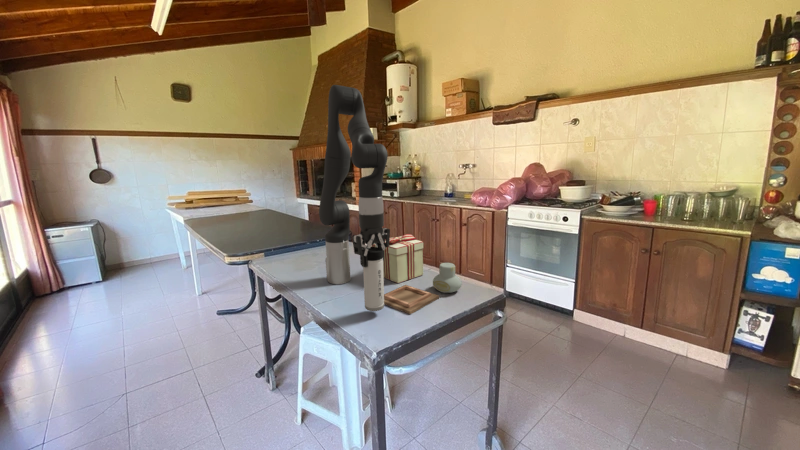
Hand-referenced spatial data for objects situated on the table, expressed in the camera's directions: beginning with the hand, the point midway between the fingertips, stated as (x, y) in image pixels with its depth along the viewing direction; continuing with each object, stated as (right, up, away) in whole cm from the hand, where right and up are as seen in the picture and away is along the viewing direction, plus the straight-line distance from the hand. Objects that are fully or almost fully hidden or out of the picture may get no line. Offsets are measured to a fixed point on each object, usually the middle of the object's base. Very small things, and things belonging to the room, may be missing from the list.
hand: (372, 263), depth 102 cm
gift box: (+7, -10, +39) cm, 40 cm away
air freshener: (+26, -13, +21) cm, 36 cm away
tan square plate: (+11, -14, +14) cm, 23 cm away
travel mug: (0, -15, +3) cm, 15 cm away
